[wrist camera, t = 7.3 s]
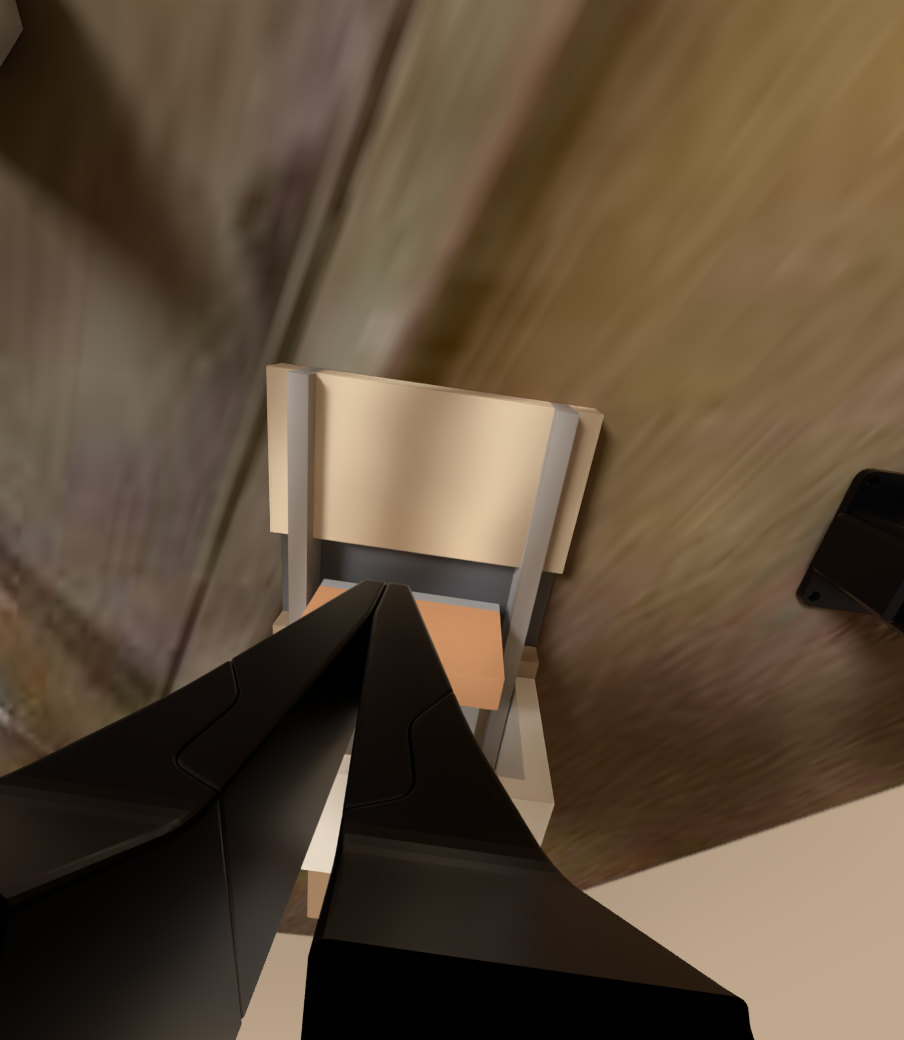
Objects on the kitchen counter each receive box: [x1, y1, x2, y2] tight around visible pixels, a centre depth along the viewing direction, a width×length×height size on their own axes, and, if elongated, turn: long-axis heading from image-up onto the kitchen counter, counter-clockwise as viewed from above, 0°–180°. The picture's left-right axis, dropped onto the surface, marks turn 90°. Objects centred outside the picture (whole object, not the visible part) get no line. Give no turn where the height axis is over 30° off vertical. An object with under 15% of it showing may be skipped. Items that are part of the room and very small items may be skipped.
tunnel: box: [301, 677, 555, 873], centre depth 21 cm, size 13×6×6 cm, turn 82°
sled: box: [300, 579, 505, 919], centre depth 22 cm, size 8×18×5 cm, turn 172°
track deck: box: [266, 363, 604, 770], centre depth 23 cm, size 13×26×2 cm, turn 172°
